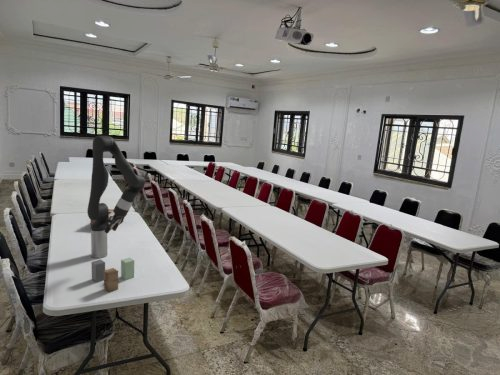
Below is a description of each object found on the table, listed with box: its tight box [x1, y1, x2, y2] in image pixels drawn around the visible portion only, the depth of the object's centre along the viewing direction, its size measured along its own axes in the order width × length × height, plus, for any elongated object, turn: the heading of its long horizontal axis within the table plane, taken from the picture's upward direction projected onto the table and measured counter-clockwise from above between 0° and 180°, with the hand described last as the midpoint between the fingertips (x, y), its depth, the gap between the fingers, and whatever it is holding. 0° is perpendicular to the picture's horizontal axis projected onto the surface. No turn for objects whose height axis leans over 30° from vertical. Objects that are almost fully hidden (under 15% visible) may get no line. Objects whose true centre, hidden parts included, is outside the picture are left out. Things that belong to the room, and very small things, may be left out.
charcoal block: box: [91, 259, 106, 283], centre depth 183 cm, size 5×5×10 cm
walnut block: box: [103, 267, 119, 293], centre depth 174 cm, size 5×5×10 cm
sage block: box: [120, 257, 135, 281], centre depth 188 cm, size 5×5×10 cm
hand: (109, 231), depth 194 cm, fingers open, 8 cm apart
